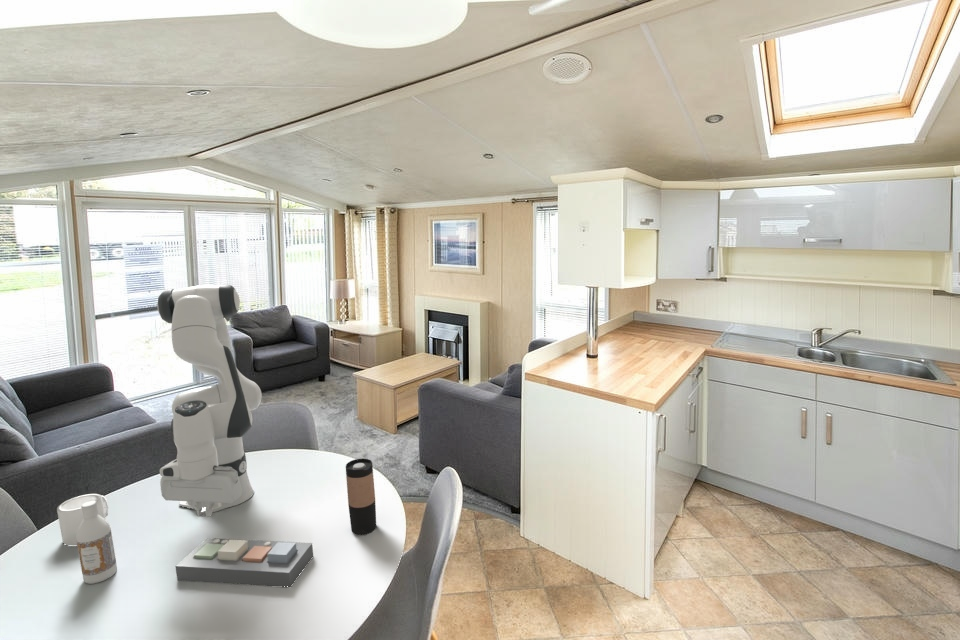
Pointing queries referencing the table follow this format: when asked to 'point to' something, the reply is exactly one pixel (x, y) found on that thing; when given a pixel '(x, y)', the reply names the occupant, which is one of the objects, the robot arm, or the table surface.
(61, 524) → the mug
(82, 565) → the bath foam
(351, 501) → the travel mug
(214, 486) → the robot arm
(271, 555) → the slate key
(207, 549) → the sage key
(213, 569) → the keypad
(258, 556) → the terracotta key
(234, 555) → the cream key
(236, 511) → the table surface
